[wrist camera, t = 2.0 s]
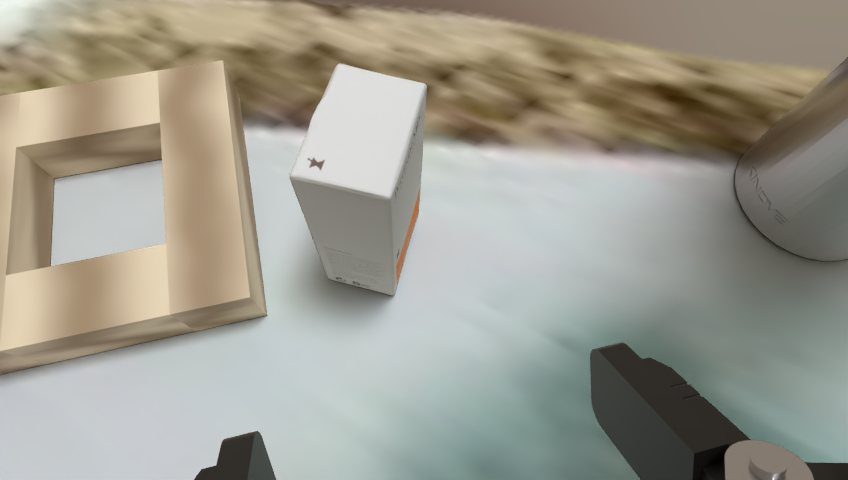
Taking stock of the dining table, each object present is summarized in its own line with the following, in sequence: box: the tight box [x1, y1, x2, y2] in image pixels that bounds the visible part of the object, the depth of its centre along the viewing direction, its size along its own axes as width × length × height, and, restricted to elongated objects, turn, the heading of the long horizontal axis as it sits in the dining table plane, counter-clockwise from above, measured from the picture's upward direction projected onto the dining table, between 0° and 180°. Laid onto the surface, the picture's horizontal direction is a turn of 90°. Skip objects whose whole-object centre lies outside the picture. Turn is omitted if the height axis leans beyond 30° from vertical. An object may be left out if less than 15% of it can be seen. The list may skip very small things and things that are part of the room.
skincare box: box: [290, 64, 427, 295], centre depth 26 cm, size 6×4×12 cm
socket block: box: [0, 60, 267, 374], centre depth 30 cm, size 16×16×4 cm
